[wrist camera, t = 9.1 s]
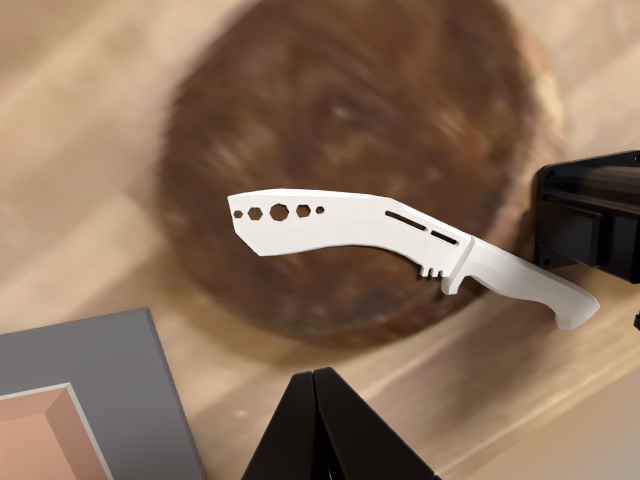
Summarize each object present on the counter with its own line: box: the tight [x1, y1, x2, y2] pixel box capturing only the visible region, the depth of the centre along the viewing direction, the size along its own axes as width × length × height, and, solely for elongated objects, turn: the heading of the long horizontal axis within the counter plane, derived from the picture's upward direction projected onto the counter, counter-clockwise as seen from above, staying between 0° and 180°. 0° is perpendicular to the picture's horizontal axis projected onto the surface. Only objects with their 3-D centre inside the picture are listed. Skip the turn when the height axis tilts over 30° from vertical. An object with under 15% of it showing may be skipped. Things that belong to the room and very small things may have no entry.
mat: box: [0, 307, 207, 480], centre depth 22 cm, size 16×16×1 cm
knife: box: [228, 189, 600, 331], centre depth 21 cm, size 31×6×2 cm, turn 76°
